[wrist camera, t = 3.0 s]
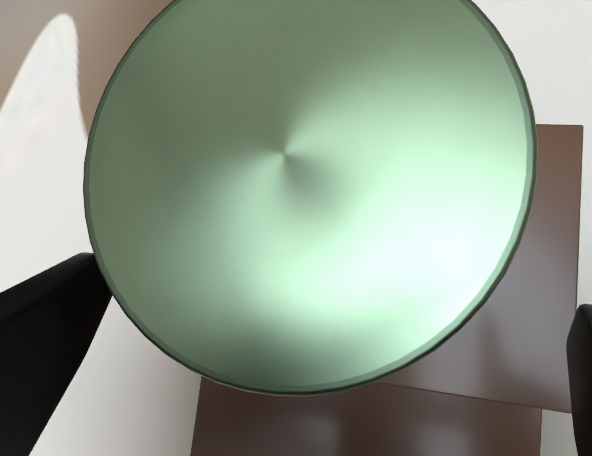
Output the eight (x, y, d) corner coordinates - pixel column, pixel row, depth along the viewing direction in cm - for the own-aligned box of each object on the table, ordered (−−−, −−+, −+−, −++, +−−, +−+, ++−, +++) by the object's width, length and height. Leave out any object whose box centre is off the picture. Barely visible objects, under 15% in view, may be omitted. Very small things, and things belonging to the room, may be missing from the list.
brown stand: (518, 629, 17) (559, 757, 12) (195, 544, 20) (124, 618, 15) (541, 172, 19) (583, 124, 14) (247, 158, 22) (200, 115, 17)
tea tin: (435, 375, 14) (465, 478, 5) (242, 311, 16) (24, 311, 7) (488, 171, 14) (593, -34, 6) (296, 131, 16) (158, -76, 8)
